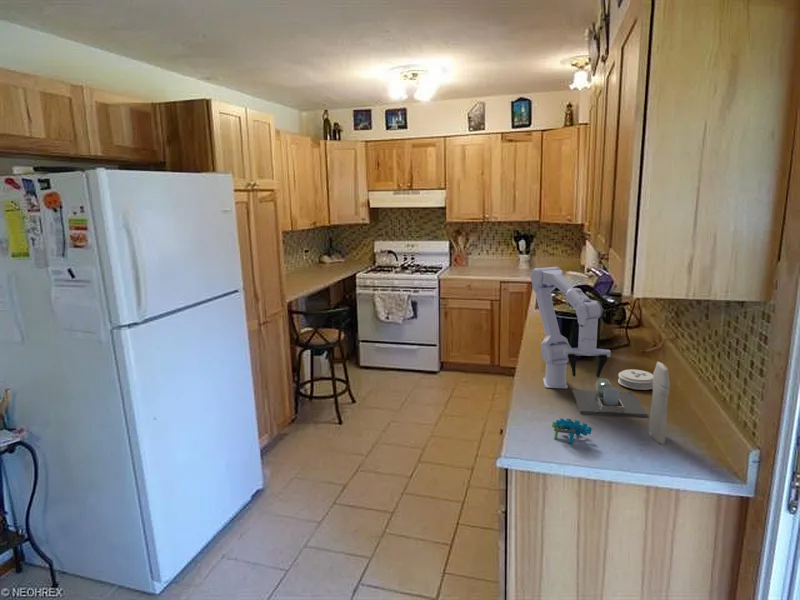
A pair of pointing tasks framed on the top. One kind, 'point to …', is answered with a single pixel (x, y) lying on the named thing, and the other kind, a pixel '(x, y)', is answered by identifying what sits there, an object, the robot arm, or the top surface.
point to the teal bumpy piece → (570, 428)
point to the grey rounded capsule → (611, 396)
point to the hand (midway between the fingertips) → (585, 375)
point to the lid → (636, 379)
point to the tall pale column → (659, 403)
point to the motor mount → (594, 405)
